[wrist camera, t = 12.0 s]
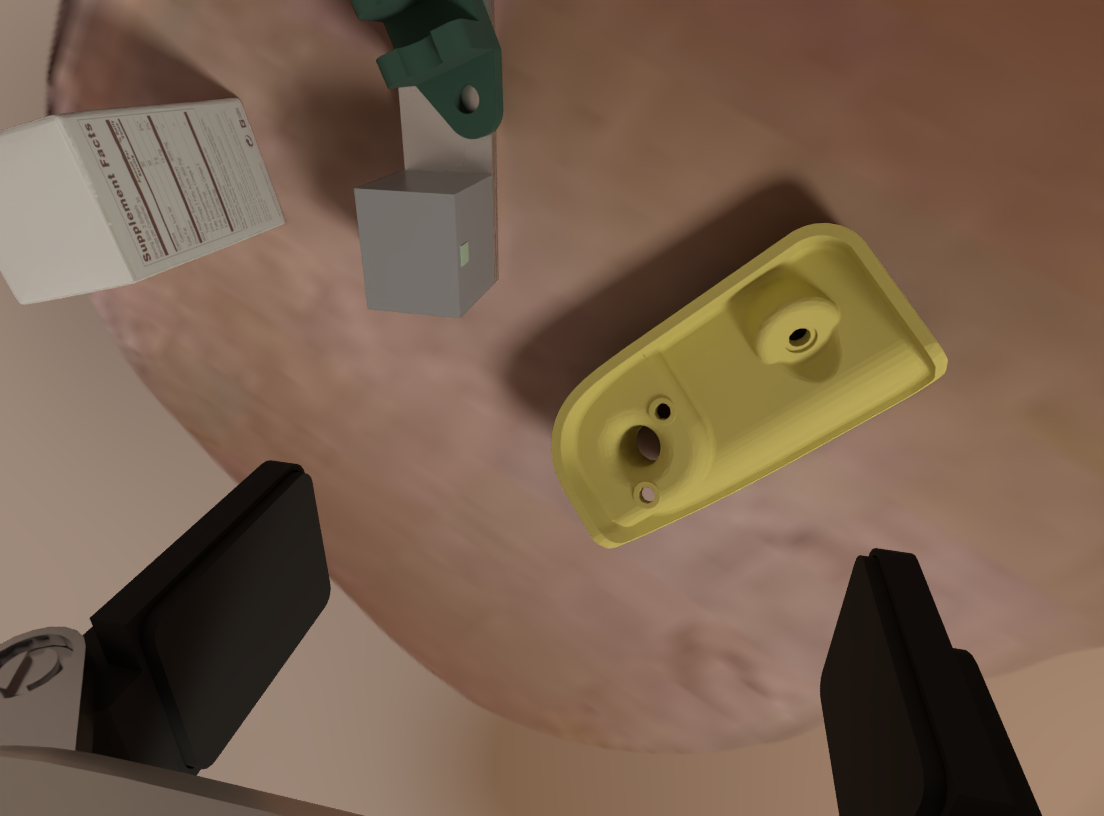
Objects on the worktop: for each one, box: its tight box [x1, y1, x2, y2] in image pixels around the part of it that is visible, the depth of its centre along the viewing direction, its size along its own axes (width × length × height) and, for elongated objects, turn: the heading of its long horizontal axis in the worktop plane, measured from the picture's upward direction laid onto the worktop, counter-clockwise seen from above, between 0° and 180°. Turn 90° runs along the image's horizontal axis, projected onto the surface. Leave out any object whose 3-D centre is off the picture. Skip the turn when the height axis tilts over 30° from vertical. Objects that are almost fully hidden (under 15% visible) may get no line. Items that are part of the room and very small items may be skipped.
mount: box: [350, 0, 503, 139], centre depth 31 cm, size 11×4×5 cm, turn 22°
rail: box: [399, 0, 498, 282], centre depth 34 cm, size 5×26×1 cm, turn 179°
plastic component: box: [551, 223, 948, 548], centre depth 38 cm, size 20×7×10 cm
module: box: [354, 170, 495, 318], centre depth 35 cm, size 5×6×6 cm
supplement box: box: [0, 98, 285, 304], centre depth 35 cm, size 7×7×13 cm
